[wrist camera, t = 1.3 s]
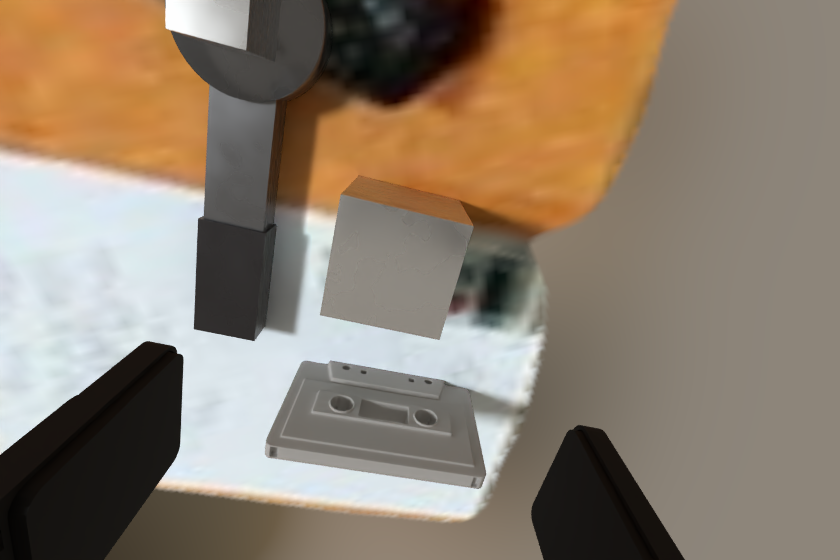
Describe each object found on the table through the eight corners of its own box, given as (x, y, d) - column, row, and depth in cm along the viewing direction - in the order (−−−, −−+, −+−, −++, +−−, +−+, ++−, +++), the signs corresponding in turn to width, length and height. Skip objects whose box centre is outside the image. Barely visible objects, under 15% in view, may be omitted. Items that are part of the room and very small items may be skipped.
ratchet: (291, 330, 26) (260, 383, 21) (182, 308, 26) (123, 357, 20) (343, -36, 19) (316, -95, 14) (192, -81, 18) (103, -162, 13)
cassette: (299, 375, 28) (260, 464, 21) (302, 353, 27) (263, 436, 20) (464, 404, 29) (481, 496, 22) (471, 383, 28) (491, 471, 21)
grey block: (358, 175, 23) (340, 194, 17) (459, 200, 23) (473, 226, 18) (341, 271, 25) (320, 315, 19) (433, 291, 25) (439, 339, 20)
